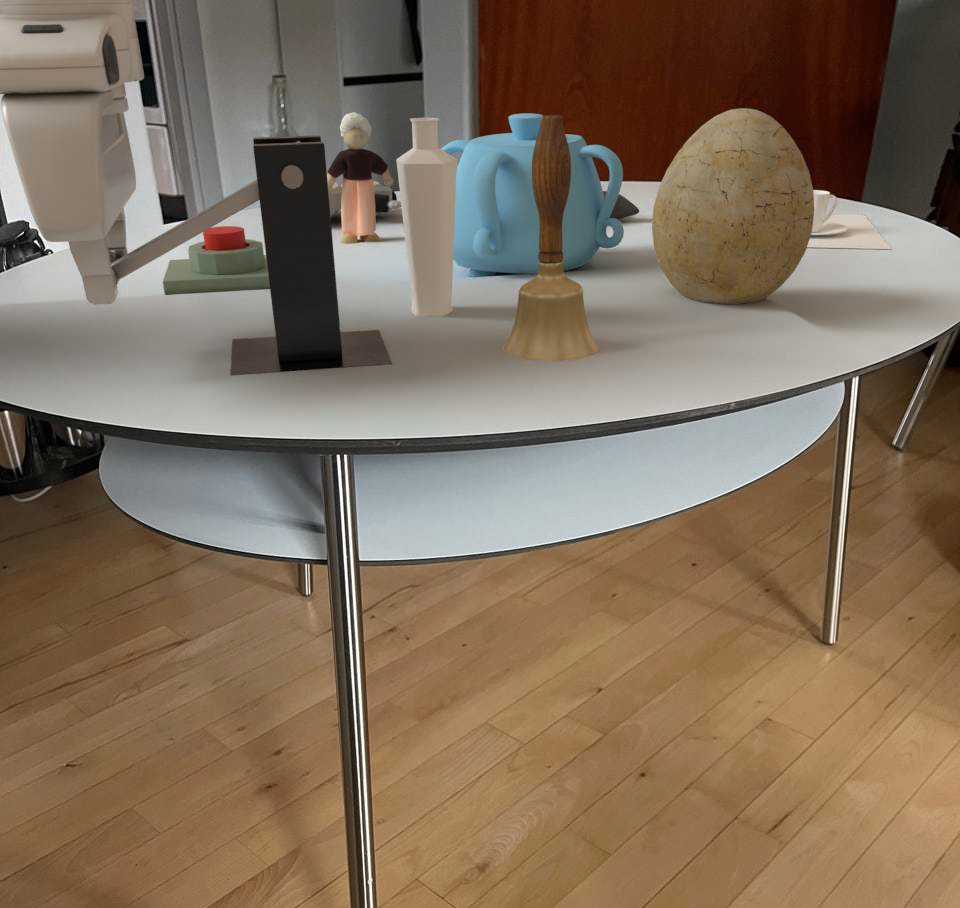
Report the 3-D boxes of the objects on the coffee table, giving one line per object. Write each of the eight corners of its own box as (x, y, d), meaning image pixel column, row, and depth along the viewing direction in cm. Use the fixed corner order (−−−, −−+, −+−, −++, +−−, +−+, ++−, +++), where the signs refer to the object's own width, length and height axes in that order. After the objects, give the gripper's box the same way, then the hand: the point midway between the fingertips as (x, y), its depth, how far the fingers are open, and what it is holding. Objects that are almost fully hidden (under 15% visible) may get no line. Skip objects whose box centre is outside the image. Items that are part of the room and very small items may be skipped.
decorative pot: (632, 284, 94) (644, 119, 87) (462, 295, 91) (459, 125, 84) (578, 249, 108) (584, 104, 101) (428, 258, 105) (423, 109, 98)
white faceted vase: (417, 316, 85) (407, 115, 77) (465, 321, 84) (461, 116, 76) (393, 331, 82) (380, 121, 74) (443, 335, 80) (436, 122, 72)
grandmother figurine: (340, 247, 110) (329, 115, 104) (324, 241, 113) (313, 113, 106) (402, 238, 114) (396, 111, 107) (385, 233, 117) (378, 108, 110)
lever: (105, 306, 67) (82, 272, 65) (114, 288, 71) (92, 256, 70) (321, 183, 65) (301, 146, 64) (316, 172, 69) (298, 137, 68)
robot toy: (388, 214, 132) (269, 211, 128) (388, 176, 129) (268, 172, 126) (404, 231, 122) (276, 229, 118) (405, 190, 119) (275, 186, 116)
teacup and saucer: (767, 238, 111) (772, 197, 109) (763, 224, 118) (768, 186, 115) (851, 239, 110) (858, 198, 107) (842, 226, 116) (848, 187, 114)
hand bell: (483, 378, 71) (480, 122, 63) (502, 344, 78) (502, 109, 69) (603, 383, 70) (616, 122, 61) (611, 349, 77) (625, 109, 68)
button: (204, 255, 90) (201, 234, 89) (206, 247, 93) (203, 227, 92) (246, 253, 91) (243, 232, 90) (246, 245, 94) (244, 225, 93)
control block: (166, 307, 89) (158, 259, 87) (173, 284, 97) (166, 239, 95) (294, 299, 91) (289, 252, 89) (291, 277, 98) (286, 233, 96)
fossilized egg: (666, 284, 94) (680, 100, 86) (809, 295, 89) (838, 102, 81) (629, 319, 84) (641, 114, 76) (788, 333, 79) (819, 117, 72)
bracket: (232, 392, 69) (197, 151, 61) (234, 354, 77) (203, 135, 69) (394, 381, 71) (380, 145, 63) (380, 345, 78) (366, 130, 70)
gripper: (38, 45, 69) (83, 258, 77) (-32, 58, 52) (34, 330, 60) (134, 43, 70) (169, 254, 78) (96, 55, 53) (146, 323, 61)
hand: (110, 288), depth 69 cm, fingers open, 6 cm apart
